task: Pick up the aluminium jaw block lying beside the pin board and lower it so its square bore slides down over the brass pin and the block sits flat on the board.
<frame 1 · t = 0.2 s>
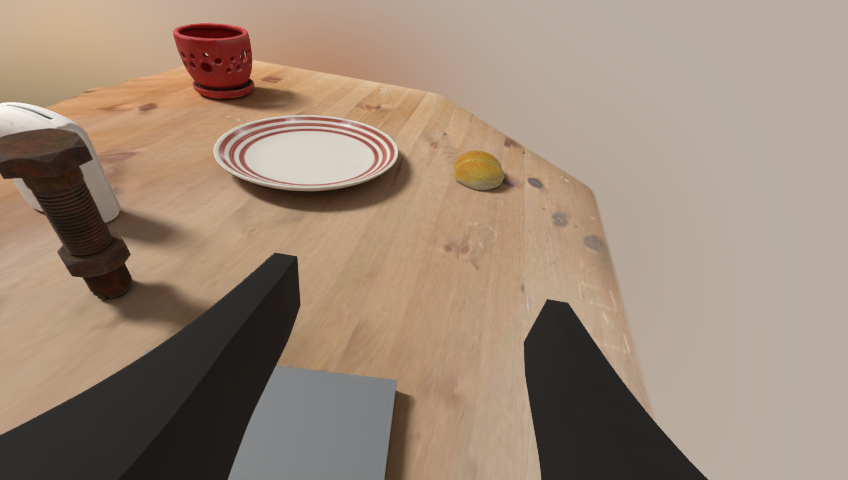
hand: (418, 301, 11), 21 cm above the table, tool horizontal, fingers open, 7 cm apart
bread roll: (476, 179, 64), on the table
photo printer: (78, 212, 45), on the table
plant pot: (224, 93, 81), on the table
bolt: (115, 290, 37), on the table
dinner plate: (312, 163, 62), on the table
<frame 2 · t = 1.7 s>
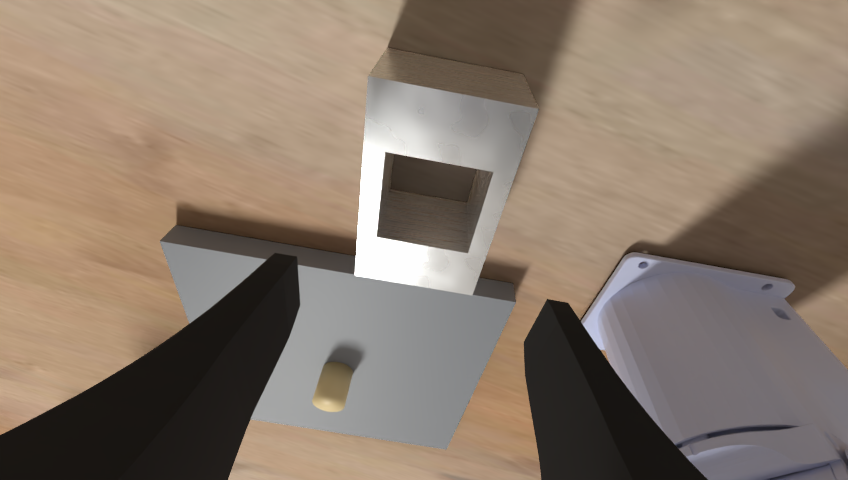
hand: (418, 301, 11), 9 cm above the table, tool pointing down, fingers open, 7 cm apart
jaw block: (435, 160, 18), on the table
pin board: (342, 352, 29), on the table
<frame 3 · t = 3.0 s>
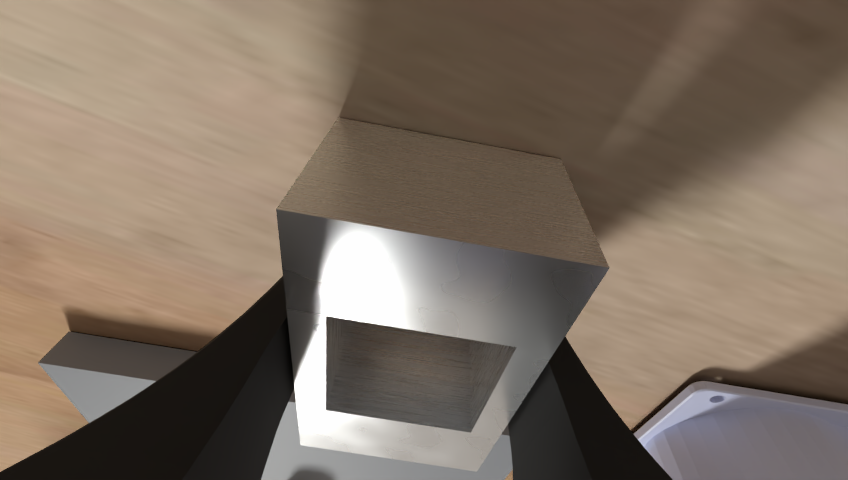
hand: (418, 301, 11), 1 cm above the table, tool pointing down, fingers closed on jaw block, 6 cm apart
jaw block: (422, 268, 12), on the table, touching gripper
pin board: (311, 461, 23), on the table
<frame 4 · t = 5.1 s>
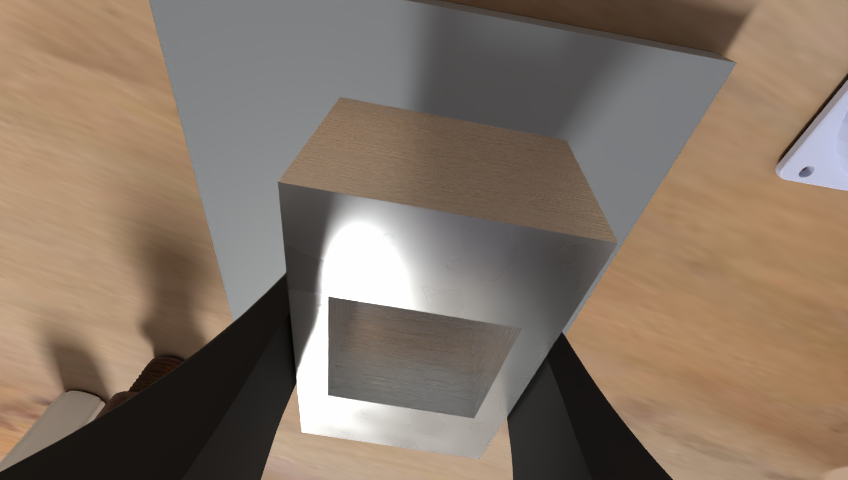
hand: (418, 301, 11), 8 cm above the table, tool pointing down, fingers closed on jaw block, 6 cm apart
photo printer: (96, 412, 38), on the table
jaw block: (424, 254, 12), point 7 cm above the table, touching gripper
pin board: (410, 222, 20), on the table
bolt: (175, 361, 31), on the table
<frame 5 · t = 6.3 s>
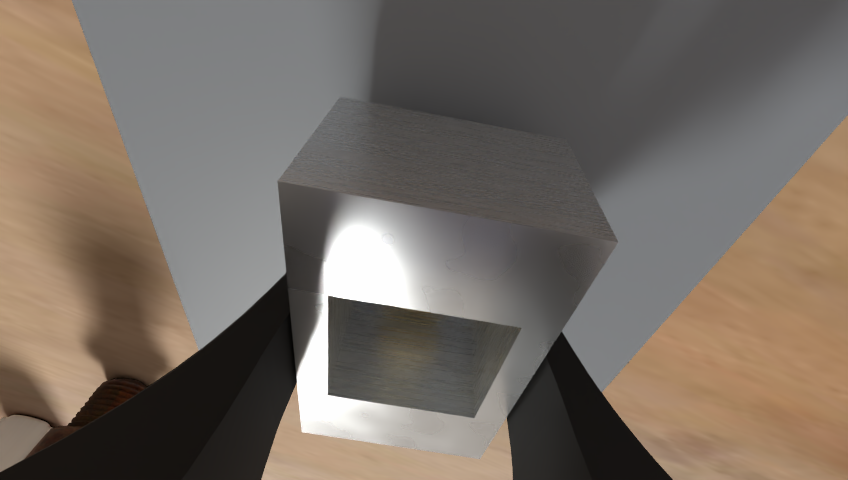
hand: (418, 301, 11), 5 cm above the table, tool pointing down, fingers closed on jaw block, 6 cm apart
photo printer: (47, 437, 32), on the table
jaw block: (424, 254, 12), point 3 cm above the table, touching gripper
pin board: (429, 213, 15), on the table
bolt: (133, 384, 25), on the table
when the fingers open (4 cm above the table, at t = 7.4 s): jaw block stays where it is, resting on pin board.
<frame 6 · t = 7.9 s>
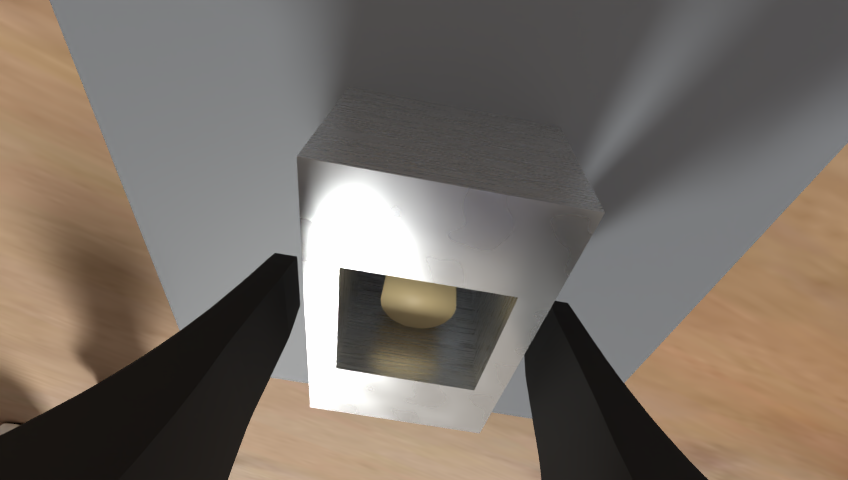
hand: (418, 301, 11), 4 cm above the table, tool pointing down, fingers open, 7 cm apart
jaw block: (427, 238, 13), point 1 cm above the table, touching pin board
pin board: (427, 223, 14), on the table
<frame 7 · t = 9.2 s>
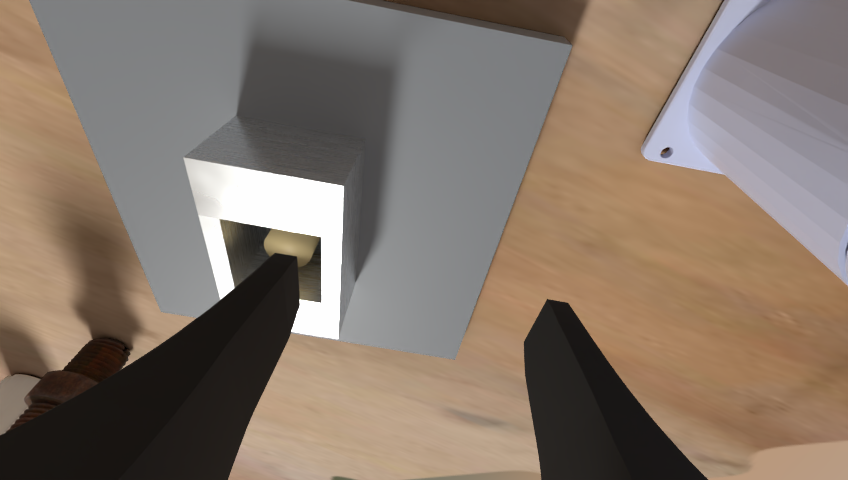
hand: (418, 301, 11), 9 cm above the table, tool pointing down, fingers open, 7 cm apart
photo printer: (45, 396, 38), on the table
jaw block: (305, 211, 19), point 1 cm above the table, touching pin board
pin board: (314, 202, 21), on the table
bolt: (114, 344, 31), on the table
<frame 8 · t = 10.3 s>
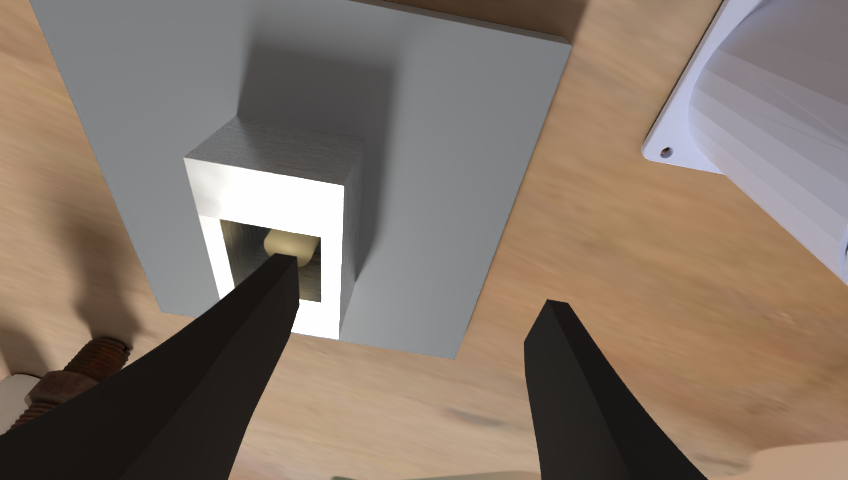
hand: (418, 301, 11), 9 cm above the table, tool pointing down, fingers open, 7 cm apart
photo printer: (45, 396, 38), on the table
jaw block: (305, 211, 19), point 1 cm above the table, touching pin board
pin board: (314, 202, 21), on the table
bolt: (114, 344, 31), on the table
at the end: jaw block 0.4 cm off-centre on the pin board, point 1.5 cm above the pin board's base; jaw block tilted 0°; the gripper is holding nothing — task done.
